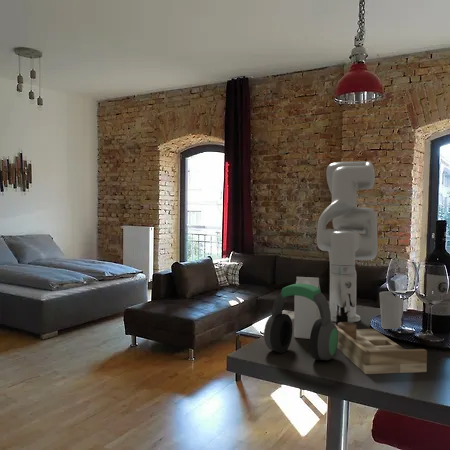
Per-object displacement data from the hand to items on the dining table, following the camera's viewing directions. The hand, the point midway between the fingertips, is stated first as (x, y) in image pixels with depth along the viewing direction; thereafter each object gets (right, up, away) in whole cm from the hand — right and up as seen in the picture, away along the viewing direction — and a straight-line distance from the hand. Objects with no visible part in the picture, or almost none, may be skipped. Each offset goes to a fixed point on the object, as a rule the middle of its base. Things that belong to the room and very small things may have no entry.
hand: (341, 327), depth 145 cm
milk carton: (-11, -3, +2) cm, 11 cm away
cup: (+20, -3, +11) cm, 22 cm away
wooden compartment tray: (+4, -4, -14) cm, 16 cm away
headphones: (-16, -4, -17) cm, 24 cm away
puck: (0, -1, -7) cm, 7 cm away
